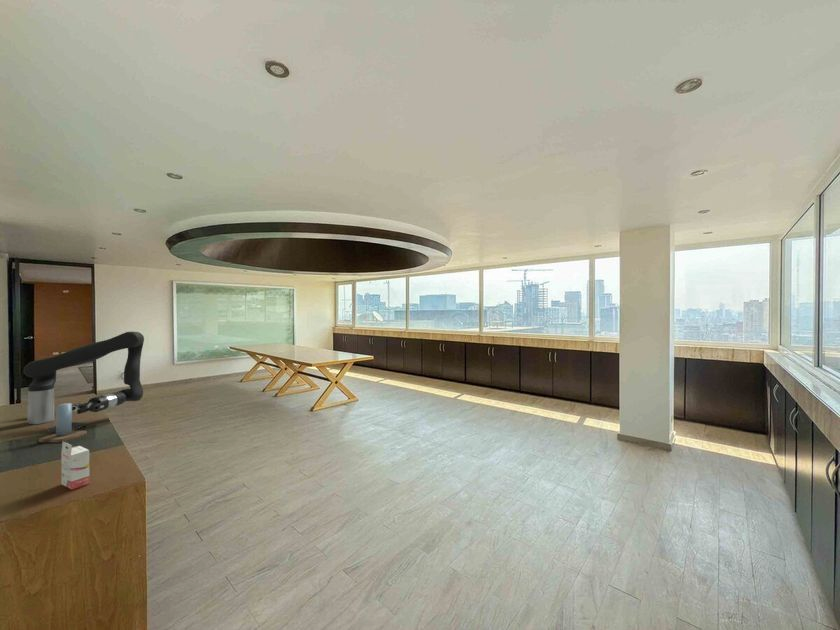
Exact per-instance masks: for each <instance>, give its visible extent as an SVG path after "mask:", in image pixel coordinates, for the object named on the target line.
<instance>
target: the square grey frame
mask: <svg viewBox="0 0 840 630" xmlns="http://www.w3.org/2000/svg"><path fill="white" fill-rule="evenodd" d="M82 426H86V422H85V421H84V422H83V421H81V422H80V421H79V422H77V421H76V422H74V421H72V430H73V429H75V430H77V429H76V428H78V429H80V428H79V427H82ZM82 428H83V427H82ZM48 433H56V425H54V426H51V427H48Z"/></svg>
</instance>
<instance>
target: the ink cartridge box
mask: <svg viewBox="0 0 840 630" xmlns="http://www.w3.org/2000/svg"><path fill="white" fill-rule="evenodd" d="M66 447H67V448H66ZM60 453H61V456H60V457H61V458H60V460H61V485H62V486H64V487H66V488H67V489H69V490H71V491H72V490H74V489H77V488H81V487H84V486H87V485H90V481H91V480H90V450H89V449H88V448H85V447H84V446H81V445H77V446H72V444H69V443H68V442H66V441H65V442H62V444H61V452H60Z"/></svg>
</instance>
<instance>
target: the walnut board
mask: <svg viewBox="0 0 840 630" xmlns="http://www.w3.org/2000/svg"><path fill="white" fill-rule="evenodd" d="M84 434H85V435H87V434H88V431H87V430H77V429H75V430H72V433H71V434H69V435H65V436H56V432H54V433H52V434H49V435H46V436H44V437H40V438H38V442H39V443H59V442H62V443H63V442H64V441H65V442H68V441H70V439H71V440H73V438H74V439H77V438H79V437H82V436H85V435H84ZM81 435H82V436H81ZM67 440H68V441H67Z"/></svg>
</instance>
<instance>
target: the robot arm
mask: <svg viewBox="0 0 840 630" xmlns="http://www.w3.org/2000/svg"><path fill="white" fill-rule="evenodd" d="M144 337H145V336H144V335H143V334H142V333H141V332H139V331H126V332H123V333H121V334H119V335H116V336H113V337H111V338H109V339H108V338H107V339H105V340H101V341H96V342H92V343H88V344H86V345H81V346H79V347H76V348H73V349H70V350H67V351H64V352H62V353H60V354H58V355H54V356H51V357H48V358H42V359H37V360H33V361H30V362H28V363H27V364H26V365H25V366H24V367H23V374H24V375H25V376H26V377H29V378H31V379H32V381H31V383H30V384H29V385H28V387H27V388H28V389H27V392H28V398H27V399H28V403H27V405H26V423H27V424H29V425H39V424H40V425H41V424H46V423H50V422H54V421H55V384H56V381H57V371H58V370H62V369H66V368H70V367H74V366H75V367H76V366H80V365H83V364H86V363H91V362H93V361H96V360H99V359H101V358H103V357H105V356H107V355H109V354H110V353H114V352H117V351H120V350H125V349H127V358H126V362H125V365H124V370H123V383H124V384H125V385H126V386H127V385H128V387H129V388H124V389H121V390H118V391H117V392H112V393H108V394H107V393H106V394H102V395H98V396H95V397H92V398H89V400H88V401H85V402H83V403H81V402H78V403H74V404H73V403H72V412H76V414H77V415H81V414H84V413H89V412H91V413H98V412H102V411H105V410H108V409H111V408H113V407H117V406H119V405H122V404H124V403H125V402H137V401H140V400H142V398H143V395H144V390H143V386H142V382H141V381H140V380H141V378H140V377H141V358H142V350H143V346H144V343H145V338H144Z"/></svg>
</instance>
